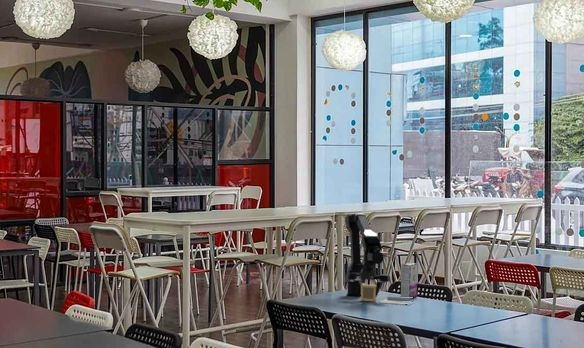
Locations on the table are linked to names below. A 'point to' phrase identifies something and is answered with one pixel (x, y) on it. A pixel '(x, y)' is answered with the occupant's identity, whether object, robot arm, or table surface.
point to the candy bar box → (409, 280)
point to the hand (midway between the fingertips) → (368, 295)
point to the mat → (395, 300)
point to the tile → (368, 292)
